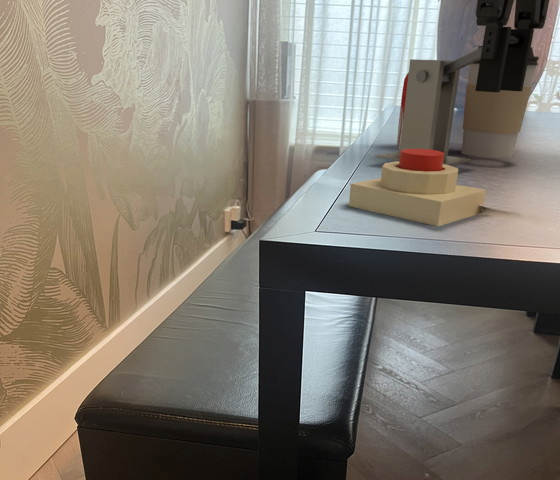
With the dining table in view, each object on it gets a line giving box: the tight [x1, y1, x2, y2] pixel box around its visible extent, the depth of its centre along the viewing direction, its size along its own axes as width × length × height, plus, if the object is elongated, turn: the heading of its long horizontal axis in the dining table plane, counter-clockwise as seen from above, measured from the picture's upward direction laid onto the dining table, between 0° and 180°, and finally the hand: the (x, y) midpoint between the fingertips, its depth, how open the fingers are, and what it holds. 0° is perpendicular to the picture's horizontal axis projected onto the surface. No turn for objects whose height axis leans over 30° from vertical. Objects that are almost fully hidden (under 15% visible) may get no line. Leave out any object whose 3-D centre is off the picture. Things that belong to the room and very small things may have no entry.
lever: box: [442, 33, 524, 85], centre depth 73 cm, size 12×5×2 cm, turn 46°
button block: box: [348, 161, 487, 227], centre depth 58 cm, size 10×8×4 cm
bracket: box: [374, 58, 472, 166], centre depth 79 cm, size 10×8×13 cm
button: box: [399, 149, 444, 171], centre depth 57 cm, size 4×4×2 cm
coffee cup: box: [461, 45, 540, 159], centre depth 84 cm, size 9×9×15 cm
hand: (499, 90), depth 72 cm, fingers closed on lever, 5 cm apart
